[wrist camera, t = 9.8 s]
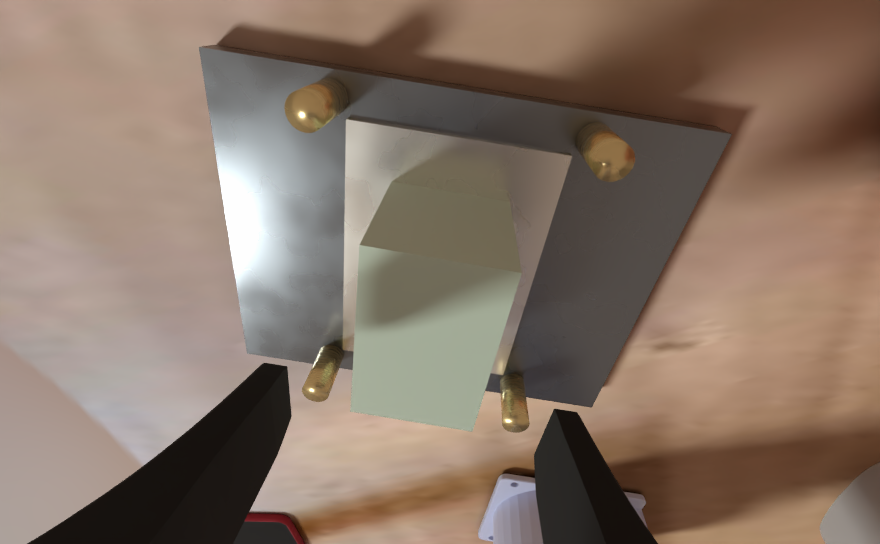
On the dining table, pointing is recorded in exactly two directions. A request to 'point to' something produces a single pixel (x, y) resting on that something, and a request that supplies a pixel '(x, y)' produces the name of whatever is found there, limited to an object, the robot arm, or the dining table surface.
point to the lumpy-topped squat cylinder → (855, 512)
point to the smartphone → (268, 530)
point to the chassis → (457, 170)
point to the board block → (432, 304)
